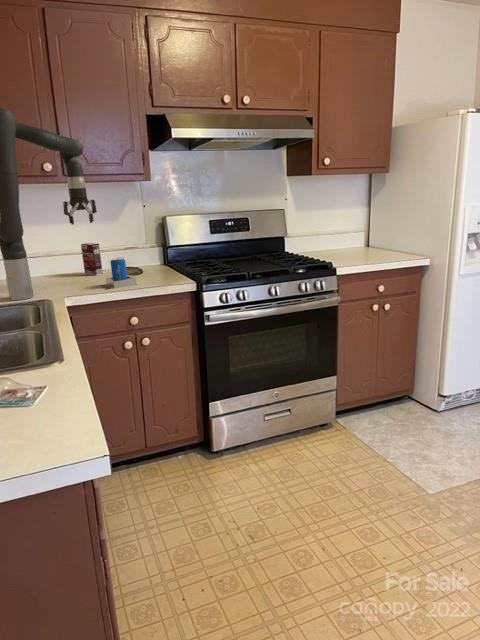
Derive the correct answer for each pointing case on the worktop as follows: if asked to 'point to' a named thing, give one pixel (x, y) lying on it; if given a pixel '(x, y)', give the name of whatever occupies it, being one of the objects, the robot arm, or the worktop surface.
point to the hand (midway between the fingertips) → (82, 223)
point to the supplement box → (91, 258)
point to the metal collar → (121, 282)
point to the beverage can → (118, 269)
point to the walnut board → (106, 287)
